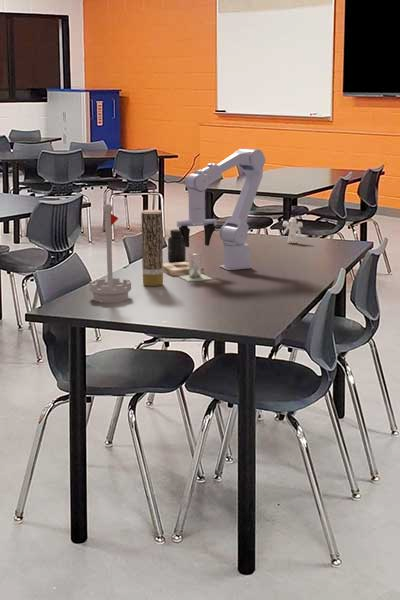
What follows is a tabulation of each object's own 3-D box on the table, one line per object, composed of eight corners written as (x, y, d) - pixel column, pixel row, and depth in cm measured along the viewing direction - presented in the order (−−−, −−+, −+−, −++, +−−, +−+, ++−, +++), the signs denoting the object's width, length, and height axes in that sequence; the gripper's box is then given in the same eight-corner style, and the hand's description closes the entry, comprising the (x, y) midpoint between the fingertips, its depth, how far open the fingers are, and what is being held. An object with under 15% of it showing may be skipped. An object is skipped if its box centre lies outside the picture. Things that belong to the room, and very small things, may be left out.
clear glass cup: (198, 275, 315) (197, 253, 313) (202, 277, 311) (202, 255, 310) (187, 276, 314) (187, 254, 312) (191, 278, 310) (191, 255, 308)
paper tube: (166, 283, 305) (164, 210, 299) (158, 287, 298) (157, 212, 293) (147, 282, 307) (145, 209, 301) (139, 286, 300) (138, 212, 295)
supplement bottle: (165, 262, 343) (164, 231, 341) (172, 258, 350) (171, 228, 347) (181, 263, 341) (181, 231, 338) (188, 260, 347) (188, 229, 344)
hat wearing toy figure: (303, 243, 384) (304, 215, 381) (300, 244, 381) (300, 216, 378) (283, 241, 388) (284, 214, 385) (280, 243, 385) (280, 215, 382)
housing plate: (189, 266, 333) (189, 261, 333) (203, 273, 321) (203, 267, 320) (158, 269, 329) (158, 263, 329) (172, 276, 316) (172, 270, 316)
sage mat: (202, 275, 318) (202, 273, 318) (212, 279, 310) (212, 278, 310) (178, 277, 315) (178, 276, 315) (188, 281, 307) (187, 280, 307)
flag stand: (114, 305, 274) (111, 207, 267) (81, 300, 281) (77, 204, 274) (139, 296, 285) (137, 202, 278) (107, 292, 292) (104, 200, 285)
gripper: (211, 205, 322) (211, 243, 325) (173, 207, 317) (174, 245, 320) (219, 207, 316) (219, 245, 319) (180, 210, 310) (181, 248, 313)
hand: (197, 246), depth 319 cm, fingers open, 7 cm apart
